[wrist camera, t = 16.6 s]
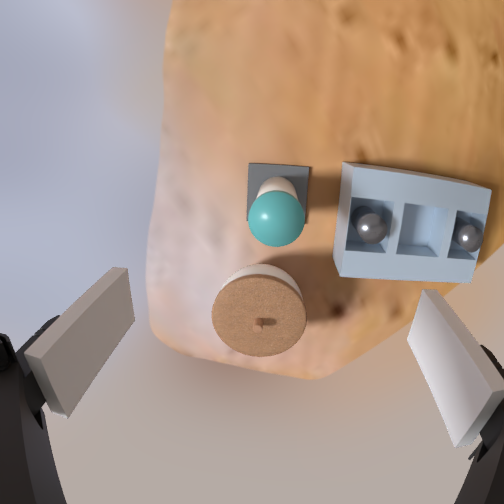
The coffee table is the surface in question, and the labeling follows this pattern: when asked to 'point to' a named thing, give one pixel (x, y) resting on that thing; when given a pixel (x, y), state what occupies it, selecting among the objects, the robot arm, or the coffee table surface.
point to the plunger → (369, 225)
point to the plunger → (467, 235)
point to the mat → (266, 171)
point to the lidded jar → (259, 311)
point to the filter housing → (407, 224)
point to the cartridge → (276, 213)
